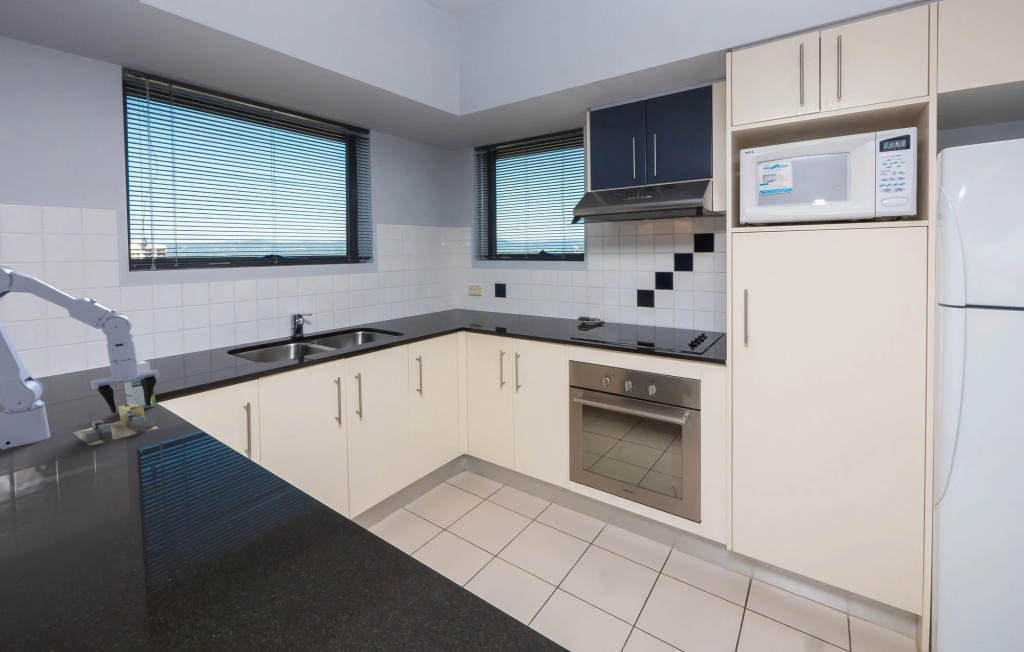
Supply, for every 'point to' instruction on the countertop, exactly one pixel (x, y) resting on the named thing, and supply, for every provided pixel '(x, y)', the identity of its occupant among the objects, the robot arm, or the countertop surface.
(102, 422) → the chain ends
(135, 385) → the syrup box
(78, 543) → the countertop surface
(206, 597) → the countertop surface
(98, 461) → the countertop surface
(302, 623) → the countertop surface
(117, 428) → the board
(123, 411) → the link
